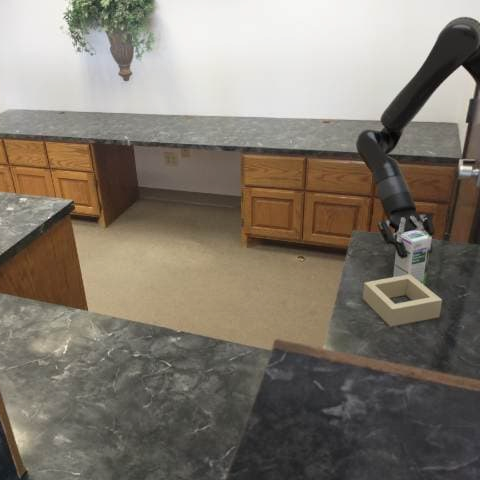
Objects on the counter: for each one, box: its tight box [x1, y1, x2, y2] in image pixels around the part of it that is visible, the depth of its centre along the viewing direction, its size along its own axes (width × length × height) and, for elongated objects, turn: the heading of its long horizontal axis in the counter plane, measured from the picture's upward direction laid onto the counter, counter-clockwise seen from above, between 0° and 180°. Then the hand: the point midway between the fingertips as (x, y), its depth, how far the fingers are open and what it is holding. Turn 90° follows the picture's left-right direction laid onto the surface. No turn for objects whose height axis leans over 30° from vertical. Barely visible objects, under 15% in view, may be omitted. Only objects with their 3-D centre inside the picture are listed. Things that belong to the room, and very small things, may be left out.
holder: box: [362, 274, 443, 328], centre depth 126 cm, size 13×13×5 cm
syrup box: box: [392, 229, 433, 286], centre depth 133 cm, size 6×6×14 cm
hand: (416, 255), depth 130 cm, fingers closed on syrup box, 6 cm apart
